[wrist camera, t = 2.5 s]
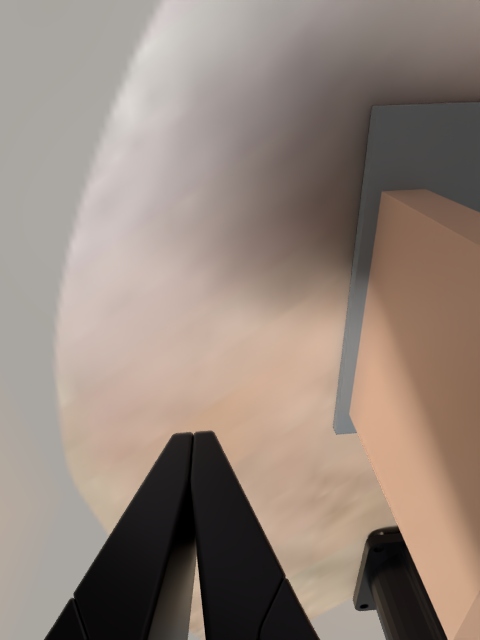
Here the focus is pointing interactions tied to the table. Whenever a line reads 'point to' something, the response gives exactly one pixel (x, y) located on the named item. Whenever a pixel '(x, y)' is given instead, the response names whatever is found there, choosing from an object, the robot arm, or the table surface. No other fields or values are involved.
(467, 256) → the tile
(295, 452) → the table surface
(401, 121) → the mat
